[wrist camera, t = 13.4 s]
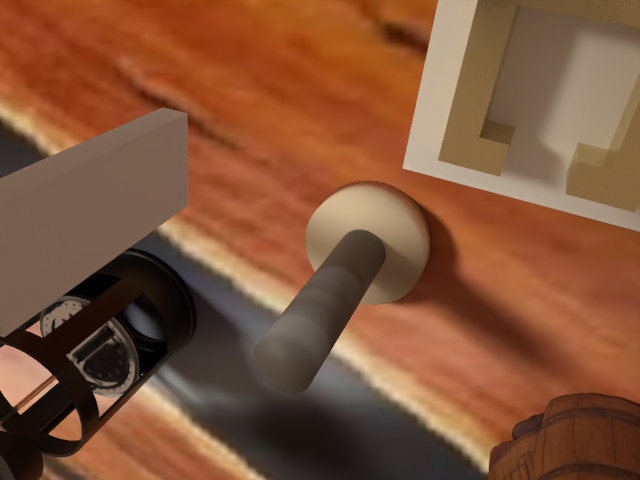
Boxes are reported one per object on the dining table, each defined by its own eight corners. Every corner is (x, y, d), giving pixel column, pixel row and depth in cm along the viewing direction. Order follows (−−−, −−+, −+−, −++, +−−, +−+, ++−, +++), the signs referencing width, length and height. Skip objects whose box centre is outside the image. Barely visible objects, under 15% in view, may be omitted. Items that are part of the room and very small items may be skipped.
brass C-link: (497, -46, 26) (488, -44, 24) (717, -10, 24) (733, -4, 21) (449, 142, 31) (437, 160, 28) (630, 188, 28) (634, 212, 26)
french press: (114, 217, 43) (-254, 438, 24) (216, 291, 42) (-79, 578, 23) (80, 316, 50) (-230, 551, 31) (168, 382, 49) (-92, 663, 30)
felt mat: (462, -101, 26) (460, -102, 26) (789, -56, 23) (793, -56, 22) (404, 165, 33) (402, 168, 32) (652, 231, 29) (653, 235, 29)
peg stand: (325, 167, 35) (211, 270, 24) (444, 200, 33) (377, 328, 22) (311, 267, 38) (206, 396, 28) (417, 302, 36) (348, 455, 26)
